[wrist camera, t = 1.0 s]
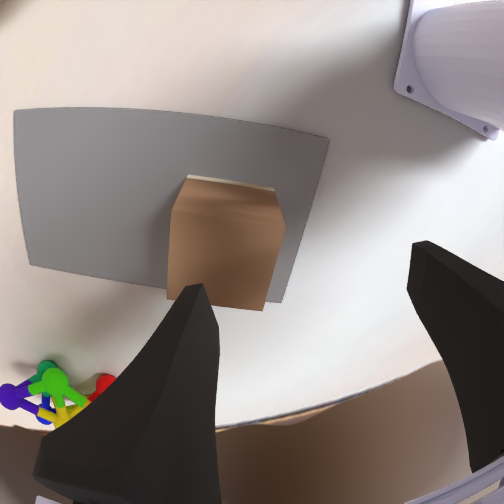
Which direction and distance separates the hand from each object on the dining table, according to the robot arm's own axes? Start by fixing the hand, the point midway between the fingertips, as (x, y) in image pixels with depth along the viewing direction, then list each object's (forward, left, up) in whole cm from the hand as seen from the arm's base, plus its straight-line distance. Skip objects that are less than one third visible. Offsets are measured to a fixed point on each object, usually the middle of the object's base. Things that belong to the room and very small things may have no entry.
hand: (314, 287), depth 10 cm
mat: (+8, +3, -10) cm, 13 cm away
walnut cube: (+3, +3, -9) cm, 10 cm away
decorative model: (+16, +24, -10) cm, 30 cm away
